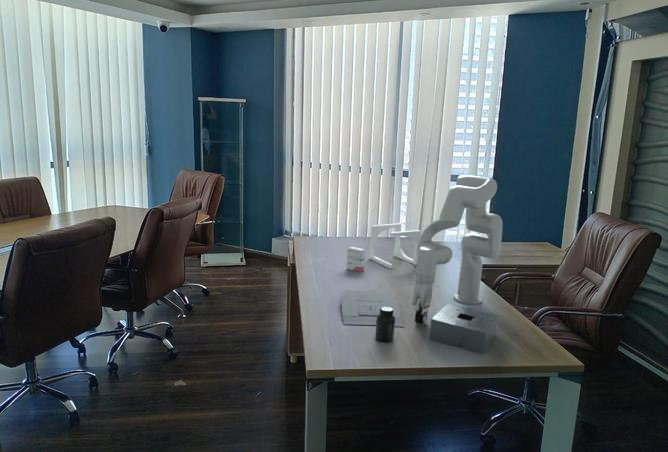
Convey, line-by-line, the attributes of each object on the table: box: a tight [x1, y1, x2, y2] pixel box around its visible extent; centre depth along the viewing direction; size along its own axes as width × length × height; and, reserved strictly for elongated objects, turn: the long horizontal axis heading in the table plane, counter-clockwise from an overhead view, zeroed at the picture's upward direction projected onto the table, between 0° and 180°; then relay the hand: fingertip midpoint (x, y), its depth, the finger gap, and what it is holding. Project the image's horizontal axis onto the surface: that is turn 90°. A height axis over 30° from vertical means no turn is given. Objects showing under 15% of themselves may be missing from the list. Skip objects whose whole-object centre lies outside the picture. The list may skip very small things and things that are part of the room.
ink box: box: [346, 246, 366, 273], centre depth 265 cm, size 9×5×12 cm, turn 58°
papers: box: [340, 289, 404, 327], centre depth 209 cm, size 24×30×4 cm
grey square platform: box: [428, 302, 499, 355], centre depth 189 cm, size 20×20×8 cm
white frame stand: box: [368, 222, 422, 269], centre depth 283 cm, size 20×20×20 cm
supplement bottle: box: [374, 306, 396, 343], centre depth 183 cm, size 7×7×12 cm
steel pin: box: [415, 301, 431, 327], centre depth 199 cm, size 6×6×10 cm
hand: (420, 320), depth 200 cm, fingers closed on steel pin, 4 cm apart
